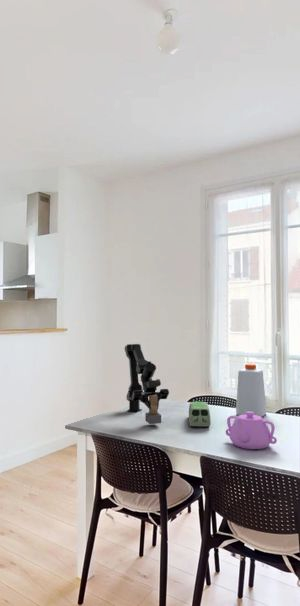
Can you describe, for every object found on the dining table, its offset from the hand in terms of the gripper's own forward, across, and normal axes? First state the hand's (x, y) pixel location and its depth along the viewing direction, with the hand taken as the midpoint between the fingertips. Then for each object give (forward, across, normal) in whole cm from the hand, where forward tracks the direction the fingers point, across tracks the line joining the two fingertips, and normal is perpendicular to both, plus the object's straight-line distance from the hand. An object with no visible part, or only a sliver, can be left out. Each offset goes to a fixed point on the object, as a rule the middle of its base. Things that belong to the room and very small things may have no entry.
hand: (154, 409), depth 187 cm
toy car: (+6, +25, +6) cm, 26 cm away
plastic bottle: (+1, +60, +11) cm, 61 cm away
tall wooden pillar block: (+4, 0, +6) cm, 7 cm away
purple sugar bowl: (+35, +28, -23) cm, 50 cm away
